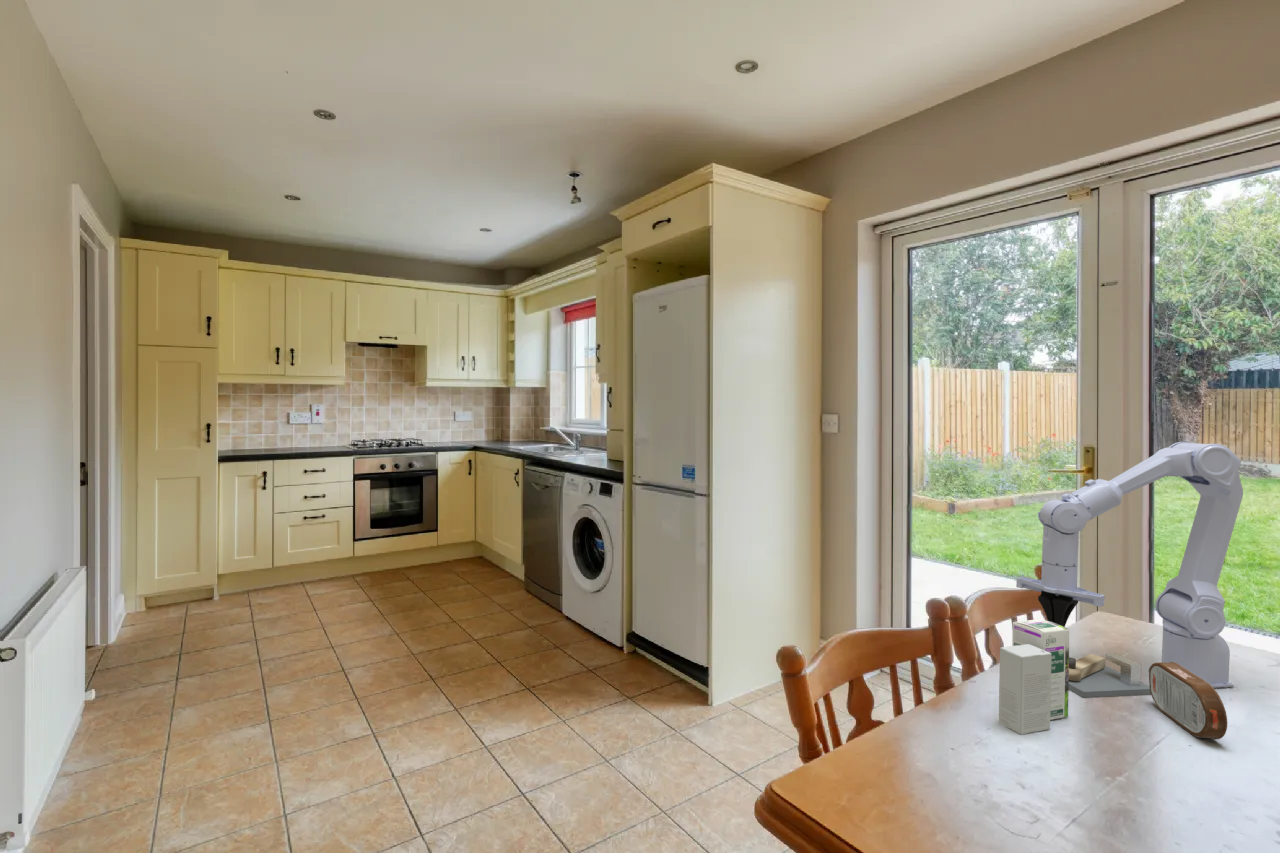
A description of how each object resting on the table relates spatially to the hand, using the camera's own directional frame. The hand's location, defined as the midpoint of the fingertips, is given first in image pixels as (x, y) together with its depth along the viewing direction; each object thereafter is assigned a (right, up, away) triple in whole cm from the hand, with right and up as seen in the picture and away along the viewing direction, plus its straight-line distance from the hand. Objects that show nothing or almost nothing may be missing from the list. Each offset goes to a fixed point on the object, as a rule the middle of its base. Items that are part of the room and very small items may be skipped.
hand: (1056, 633), depth 120 cm
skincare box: (-20, -7, -23) cm, 31 cm away
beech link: (+2, -6, -5) cm, 8 cm away
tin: (+6, -8, -21) cm, 23 cm away
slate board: (+2, -7, -6) cm, 10 cm away
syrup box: (-15, -7, -18) cm, 25 cm away
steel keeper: (+7, -6, -7) cm, 12 cm away
